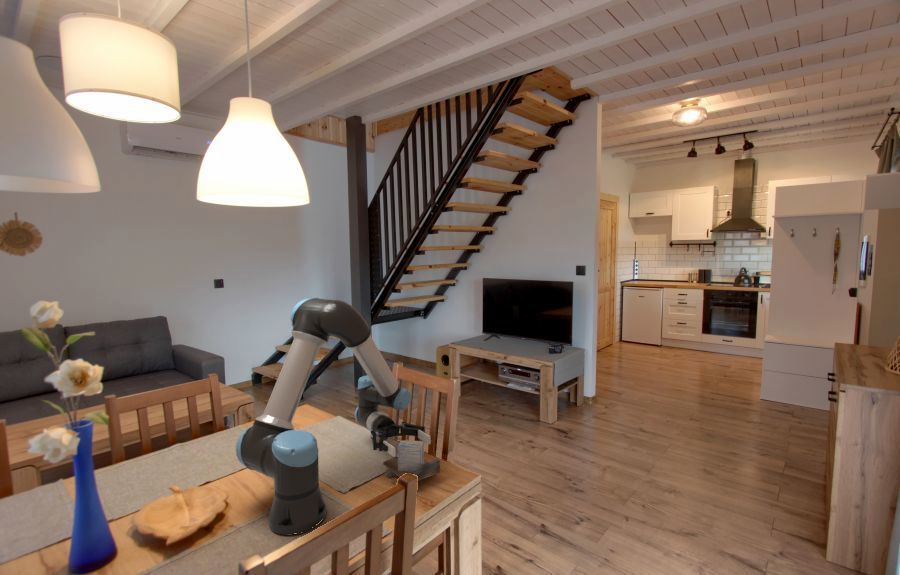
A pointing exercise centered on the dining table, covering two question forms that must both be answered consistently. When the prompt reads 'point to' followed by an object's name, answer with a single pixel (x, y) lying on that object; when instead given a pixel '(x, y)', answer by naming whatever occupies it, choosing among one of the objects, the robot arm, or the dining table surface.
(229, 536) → the dining table surface
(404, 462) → the medicine box
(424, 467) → the roller slab
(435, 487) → the dining table surface
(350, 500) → the dining table surface
